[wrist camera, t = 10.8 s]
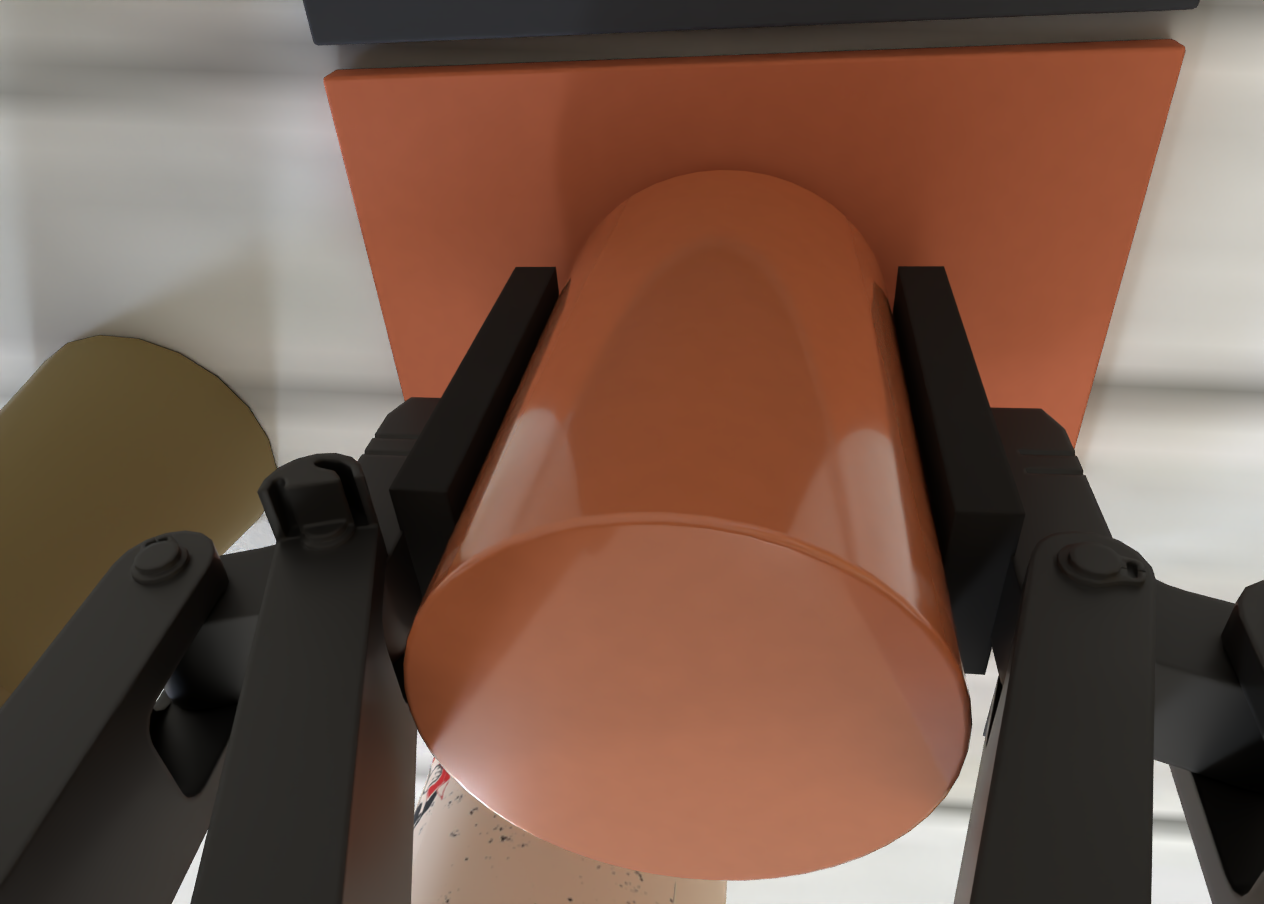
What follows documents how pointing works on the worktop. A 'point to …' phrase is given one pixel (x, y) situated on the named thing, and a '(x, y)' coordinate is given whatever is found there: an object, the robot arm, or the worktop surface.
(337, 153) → the worktop surface
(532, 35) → the charcoal mat
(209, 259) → the worktop surface
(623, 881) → the teacup with lid
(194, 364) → the olive rounded bottle shape
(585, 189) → the terracotta mat
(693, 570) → the copper-orange cylinder
